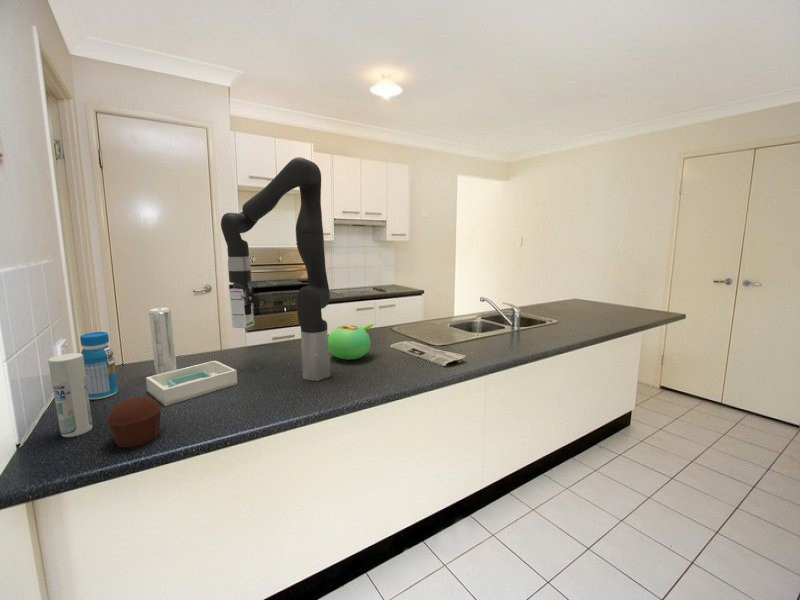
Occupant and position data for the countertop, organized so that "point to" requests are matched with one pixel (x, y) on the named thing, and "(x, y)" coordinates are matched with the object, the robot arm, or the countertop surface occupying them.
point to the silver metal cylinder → (162, 340)
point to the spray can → (71, 394)
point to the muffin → (134, 421)
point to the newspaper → (427, 352)
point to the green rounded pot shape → (349, 341)
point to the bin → (190, 382)
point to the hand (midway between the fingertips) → (242, 313)
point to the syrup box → (240, 310)
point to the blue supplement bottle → (99, 365)
